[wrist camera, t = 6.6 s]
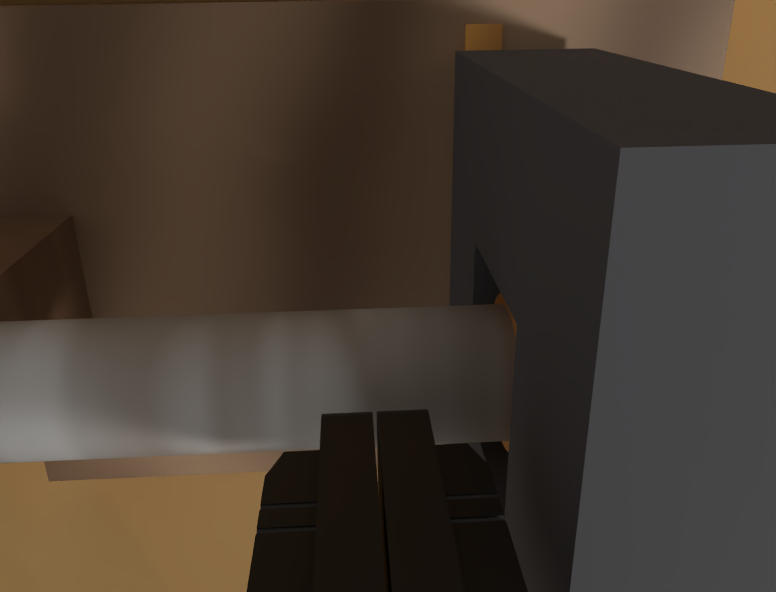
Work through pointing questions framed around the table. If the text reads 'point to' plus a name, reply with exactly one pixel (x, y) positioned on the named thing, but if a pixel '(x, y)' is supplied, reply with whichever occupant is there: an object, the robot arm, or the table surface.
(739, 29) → the table surface
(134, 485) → the table surface
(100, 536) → the table surface
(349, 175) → the pipe stand
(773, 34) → the table surface
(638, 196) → the collar
